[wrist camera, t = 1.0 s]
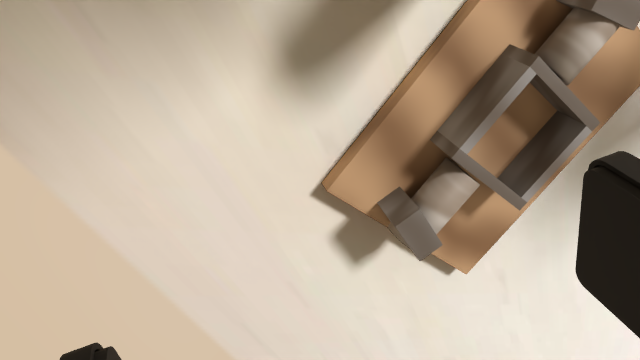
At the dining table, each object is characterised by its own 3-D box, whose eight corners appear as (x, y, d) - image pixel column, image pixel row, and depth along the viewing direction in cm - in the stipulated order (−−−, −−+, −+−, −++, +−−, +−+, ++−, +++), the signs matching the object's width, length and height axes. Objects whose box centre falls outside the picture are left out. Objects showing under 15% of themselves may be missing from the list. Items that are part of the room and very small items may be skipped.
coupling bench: (540, -92, 32) (592, -90, 29) (649, 56, 40) (701, 72, 37) (320, 183, 37) (341, 216, 33) (458, 266, 45) (487, 300, 41)
